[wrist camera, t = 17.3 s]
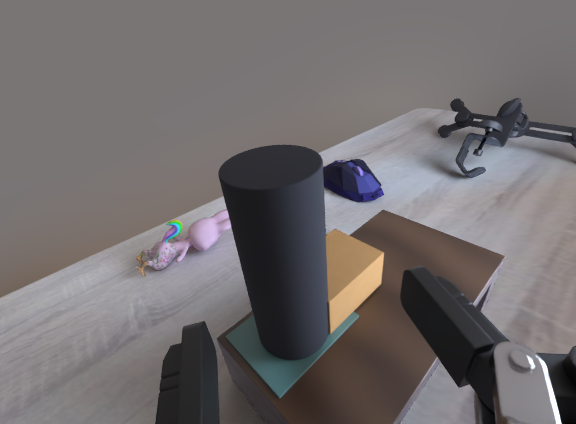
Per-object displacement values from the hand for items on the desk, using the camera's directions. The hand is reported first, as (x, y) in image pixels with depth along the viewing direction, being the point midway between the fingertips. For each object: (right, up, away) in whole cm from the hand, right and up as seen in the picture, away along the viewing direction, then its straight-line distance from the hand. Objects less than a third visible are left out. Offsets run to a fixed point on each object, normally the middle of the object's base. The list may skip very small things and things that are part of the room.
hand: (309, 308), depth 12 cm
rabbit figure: (-13, -1, +29) cm, 32 cm away
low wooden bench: (+7, -8, +16) cm, 19 cm away
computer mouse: (+10, +9, +40) cm, 42 cm away
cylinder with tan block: (+1, -3, +12) cm, 12 cm away
